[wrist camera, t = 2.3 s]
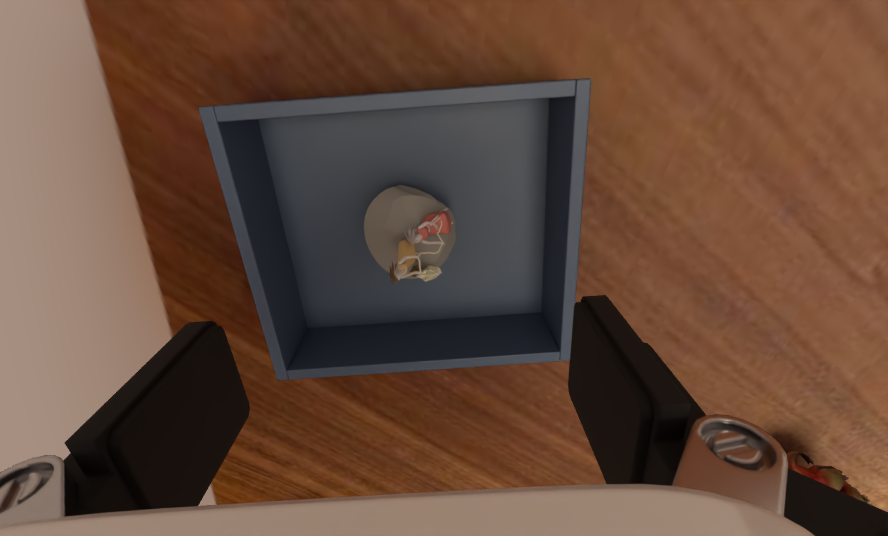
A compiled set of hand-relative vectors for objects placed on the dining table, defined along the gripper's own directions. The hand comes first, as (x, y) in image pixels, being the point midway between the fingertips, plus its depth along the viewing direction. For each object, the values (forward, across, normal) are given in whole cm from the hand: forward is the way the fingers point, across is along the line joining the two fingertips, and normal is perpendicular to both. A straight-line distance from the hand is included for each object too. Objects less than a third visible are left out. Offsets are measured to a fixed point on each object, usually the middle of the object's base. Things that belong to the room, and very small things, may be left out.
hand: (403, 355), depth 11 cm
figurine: (+12, 0, 0) cm, 12 cm away
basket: (+13, 0, 0) cm, 13 cm away
